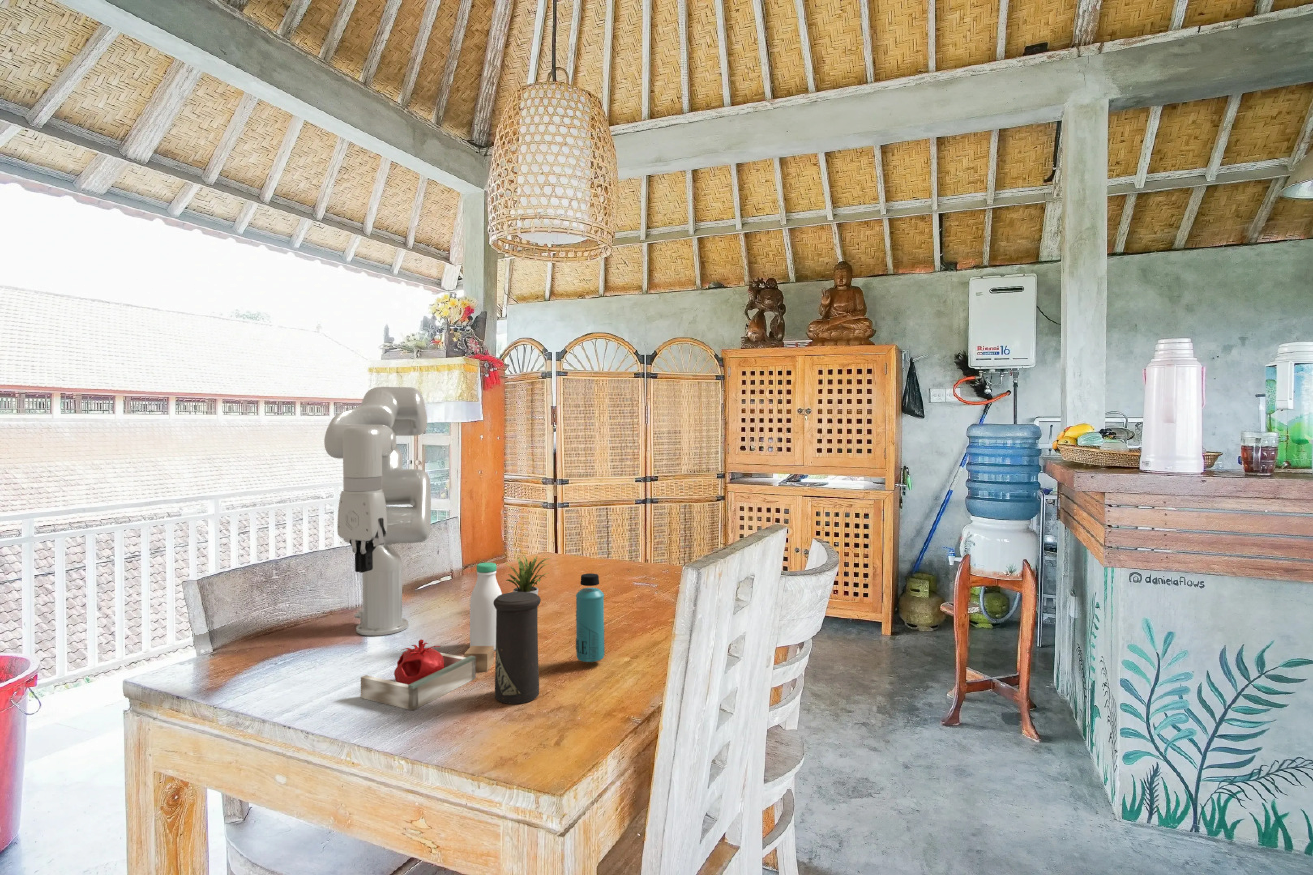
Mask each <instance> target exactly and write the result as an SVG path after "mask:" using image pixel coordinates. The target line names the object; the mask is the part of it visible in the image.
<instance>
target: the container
mask: <svg viewBox="0 0 1313 875" xmlns="http://www.w3.org/2000/svg"><path fill="white" fill-rule="evenodd" d="M540 603H541V597H540V596H539V594H538V595H537V594H535V593H531V592H513V591H512V592H506V593H502V595H499V596H498V597H497V598H496V599H495V600H494V603H493V604H494V606H495V608H496V650H495V661H494V664H495V666H494V667H495V669H494V670H495V672H494V698H495V699H496V700H497V701H498V702H500V703H504V704H511V705H515V704H517V705H518V704H525V703H529V702H531V701H534V700H535V699H537V698H538V696H540V695H539V694H540V680H539V679H540V675H539V674H540V673H539V637H538V636H539V633H538V628H539V627H538V625H539V624H538V623H539V621H538V618H539V617H538V612H539V610H538V608H539V605H540Z"/></svg>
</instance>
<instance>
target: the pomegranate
mask: <svg viewBox="0 0 1313 875" xmlns="http://www.w3.org/2000/svg"><path fill="white" fill-rule="evenodd" d="M426 645H429V643H428V642H425V641H424V639H419V640H418V646H417V645H416V644H412V645H411V647H414V648H410V647H405V648H403V649H401V651H404V650H406V651H404V652H402V654H401V655H400V656H399V659H398V660H397V664H396V665H397V666H396V668H395V669H394V671H393V672H394V673H393V675H394V679H395V682H399V683H403V684H408V685H409V684H411V683H413V682H415V681H418V680H420V679H422V678H424V677H426V676H428V675H431V674H433V673H435V672H437V671H439V670H441V669H443V668H444V660H443V656H442V655H441V654H440V653H441V652H439V651H438V650H436V649H435V648H441V645H440V646H439V645H433V646H430V647H425V646H426Z"/></svg>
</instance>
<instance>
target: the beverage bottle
mask: <svg viewBox="0 0 1313 875" xmlns="http://www.w3.org/2000/svg"><path fill="white" fill-rule="evenodd" d="M579 583H580V585H581V586H584V588H581V589H579V591H578V592H577V593H576V594H575V599H576V602H575V603H576V605H575V606H576V608H575V609H576V610H575V620H576V621H575V622H576V626H575V627H576V628H575V630H576V631H575V633H576V634H575V635H576V636H575V656H576V658H577V660H578V661H580V662H584V663H585V662H587V663H592V662H599V661H601V660H603V659H604V657H605V653H606V651H605V647H606V643H605V622H604V621H605V616H604V615H605V611H604V610H605V607H604V606H605V604H604V603H605V602H604V601H605V600H604V599H605V598H604V597H605V594H604V592H603V591H602V590H601V589H599V588H597V587H592V586H598V585H600V576H599V573H592V572H591V573H590V572H589V573H584V574H581V576H580V582H579ZM585 586H586V587H585Z"/></svg>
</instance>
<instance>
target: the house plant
mask: <svg viewBox="0 0 1313 875" xmlns="http://www.w3.org/2000/svg"><path fill="white" fill-rule="evenodd" d="M520 555H521V554H520ZM521 557H522V559H523V561H522V560H521V558H520V557H517V563H518V571H519V572H518V571H517V570H516V568H514V567H513V566H512V565H510V564H508V563H507V562H505V561H503V563H505V564H506V565H508V567H510V569H511V570H512V571H513V572H514V573H515V575H516V577H515V576H513V575H512V574H509V573H508V576H509V577H510V578H511V579H505V581H507V582H510V583H512V584H513V585H515V586H516V587H514V588H513V590H512V592H531V593H535V594H537V595H538V596H539V594H538V593H539V588H538V587H537V586H538V583H541V582H540V581H541V579H542V577H543V578H545V579H546V578H547V577H546V576H545V575H548V574H549V572H546V573H544V574H539V572H540V570H541V569H542V568H543V567H545V566H547V565H549V563H544V562H545V561H547V560H550V559H551V557H549V558H544V559H542V560H540V562H538V563H537V561H538V560H537V559H538V556H535V557H534V558H533V559H532V560H531V561H529V562H528V559H527V557H526V555H525V554H524V553H522V555H521ZM536 564H537V565H536ZM535 565H536V566H535ZM540 565H542V566H540ZM538 568H539V569H538ZM537 569H538V570H537ZM536 570H537V572H536ZM535 572H536V573H535ZM534 574H535V575H534ZM533 575H534V576H533ZM536 578H537V579H536ZM535 585H536V586H535Z"/></svg>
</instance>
